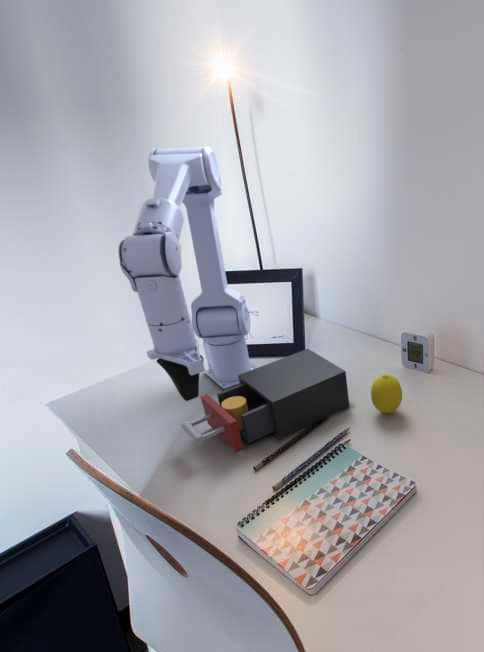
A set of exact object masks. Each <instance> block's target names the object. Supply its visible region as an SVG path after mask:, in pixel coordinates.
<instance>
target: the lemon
mask: <svg viewBox="0 0 484 652" xmlns="http://www.w3.org/2000/svg"><path fill="white" fill-rule="evenodd" d="M370 398H371V402H372V405H373V407H374V408H375V409H376V410H377V411H379V412H381V413H385V414H386V415H387V414H390V413H393V412H395V411H396V410H397V409H398V408H400V406H401V404H402V401H403V390H402V386H401V384H400V381H399V380H398V379H397V378H396V377H395V376H393V375H390V374H386V373H385V374H383V375H380V376H378V377H377V378H376V379H375V380H374V381H373V383H372V385H371V389H370Z"/></svg>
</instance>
